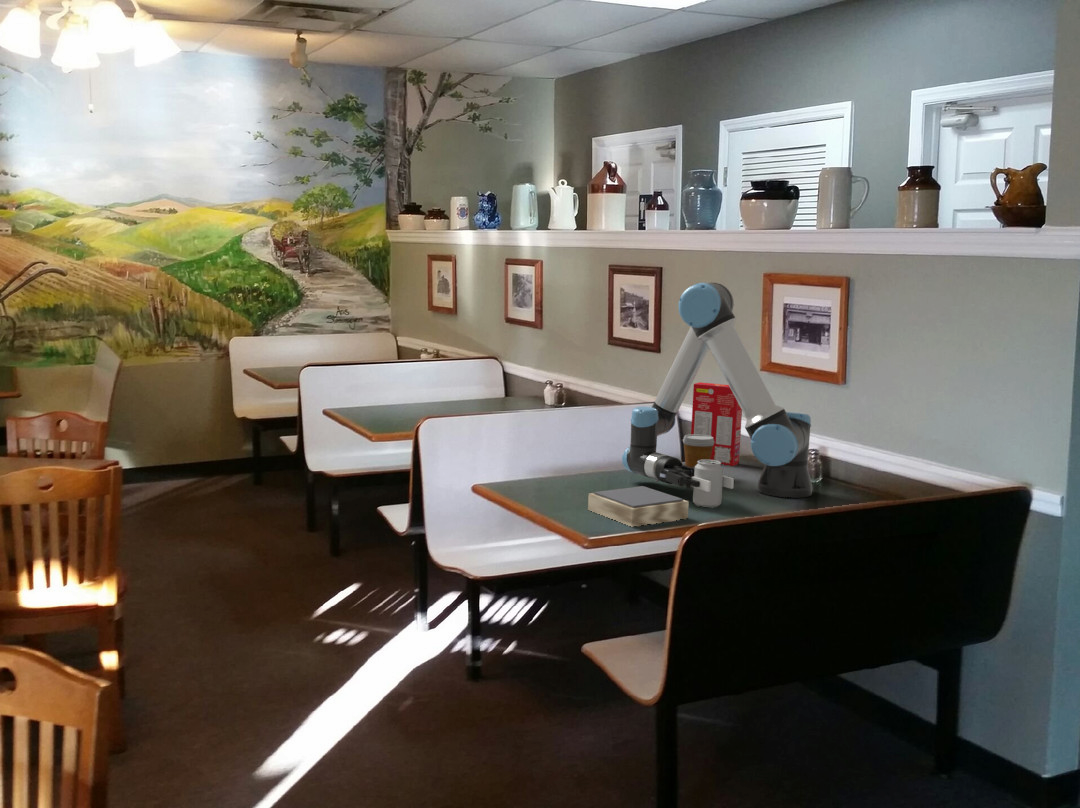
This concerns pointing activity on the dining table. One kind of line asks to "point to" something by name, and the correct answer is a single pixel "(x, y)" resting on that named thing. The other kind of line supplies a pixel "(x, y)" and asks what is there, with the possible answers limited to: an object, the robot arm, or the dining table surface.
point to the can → (712, 473)
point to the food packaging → (718, 420)
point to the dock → (638, 506)
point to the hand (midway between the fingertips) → (721, 485)
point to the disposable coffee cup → (697, 448)
